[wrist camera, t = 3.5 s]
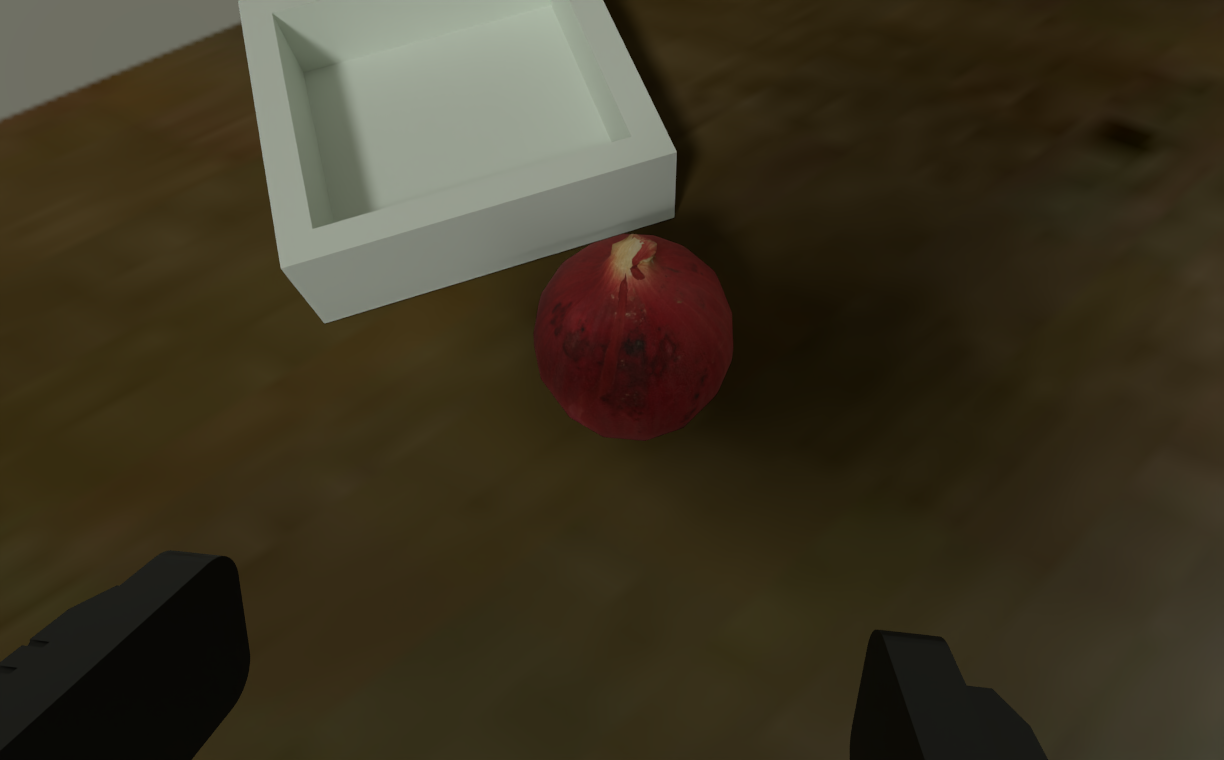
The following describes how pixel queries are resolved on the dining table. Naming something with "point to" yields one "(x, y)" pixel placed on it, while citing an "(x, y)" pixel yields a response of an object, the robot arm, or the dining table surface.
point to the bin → (446, 140)
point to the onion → (633, 336)
